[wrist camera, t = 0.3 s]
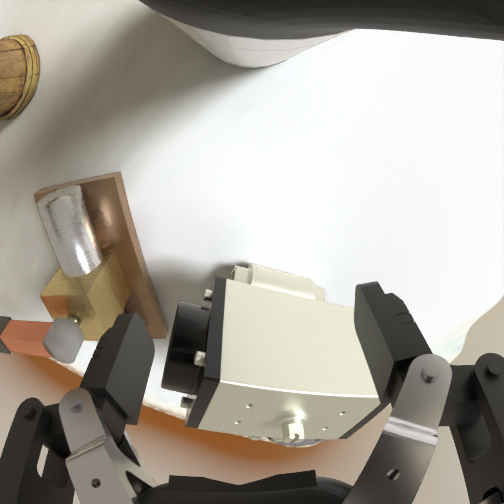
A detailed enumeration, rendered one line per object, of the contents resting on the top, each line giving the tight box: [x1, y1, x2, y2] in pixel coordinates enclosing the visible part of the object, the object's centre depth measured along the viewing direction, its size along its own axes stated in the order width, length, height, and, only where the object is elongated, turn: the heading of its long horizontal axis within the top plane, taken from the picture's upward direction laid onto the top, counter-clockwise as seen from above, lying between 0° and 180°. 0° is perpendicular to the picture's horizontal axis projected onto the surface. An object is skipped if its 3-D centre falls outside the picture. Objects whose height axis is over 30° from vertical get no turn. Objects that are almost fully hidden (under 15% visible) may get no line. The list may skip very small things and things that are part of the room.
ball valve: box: [161, 264, 391, 443], centre depth 25 cm, size 18×8×18 cm, turn 72°
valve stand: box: [34, 172, 168, 341], centre depth 26 cm, size 20×10×10 cm, turn 5°
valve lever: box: [0, 316, 84, 364], centre depth 21 cm, size 14×3×3 cm, turn 95°
